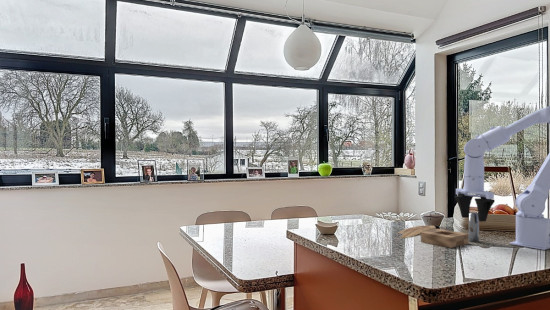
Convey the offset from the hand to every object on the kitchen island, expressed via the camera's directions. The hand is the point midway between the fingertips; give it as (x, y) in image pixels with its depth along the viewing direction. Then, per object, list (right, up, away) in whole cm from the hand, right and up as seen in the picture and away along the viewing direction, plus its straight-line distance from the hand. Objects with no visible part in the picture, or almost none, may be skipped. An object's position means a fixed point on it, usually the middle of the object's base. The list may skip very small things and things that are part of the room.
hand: (473, 219), depth 128 cm
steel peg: (0, -7, 0) cm, 7 cm away
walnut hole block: (-10, -7, -3) cm, 13 cm away
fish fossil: (-14, -8, +14) cm, 22 cm away
